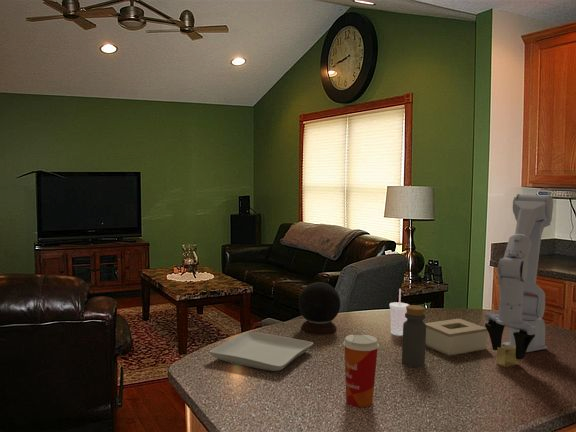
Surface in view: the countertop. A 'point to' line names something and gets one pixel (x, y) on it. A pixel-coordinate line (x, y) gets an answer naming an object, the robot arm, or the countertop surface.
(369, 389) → the paper cup
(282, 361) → the salad plate
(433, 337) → the cream box with slot
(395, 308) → the beverage cup
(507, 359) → the block
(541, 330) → the robot arm
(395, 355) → the countertop surface
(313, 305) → the black ball on stand
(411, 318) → the bottle
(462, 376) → the countertop surface
